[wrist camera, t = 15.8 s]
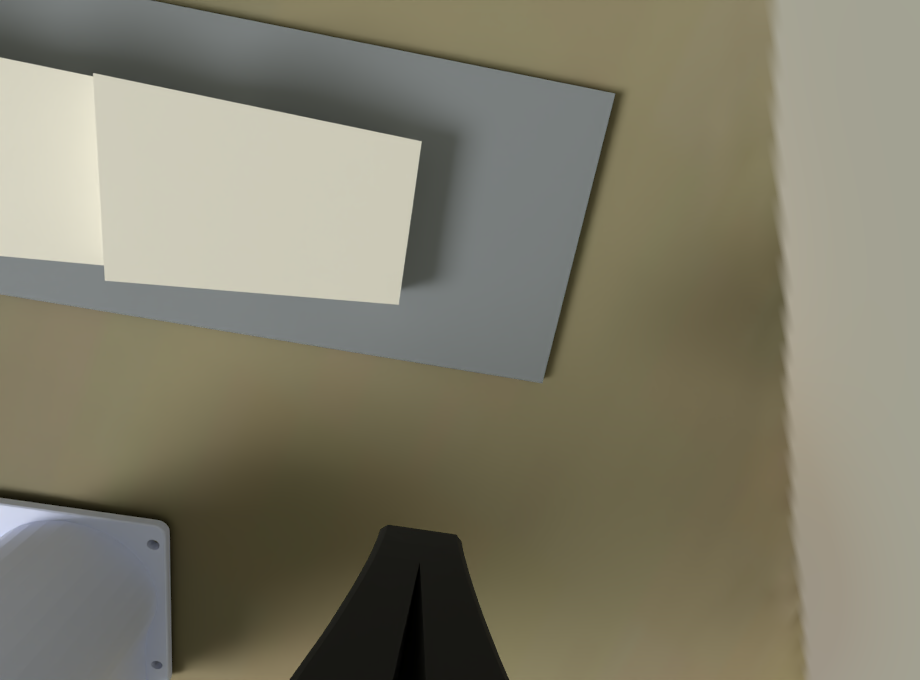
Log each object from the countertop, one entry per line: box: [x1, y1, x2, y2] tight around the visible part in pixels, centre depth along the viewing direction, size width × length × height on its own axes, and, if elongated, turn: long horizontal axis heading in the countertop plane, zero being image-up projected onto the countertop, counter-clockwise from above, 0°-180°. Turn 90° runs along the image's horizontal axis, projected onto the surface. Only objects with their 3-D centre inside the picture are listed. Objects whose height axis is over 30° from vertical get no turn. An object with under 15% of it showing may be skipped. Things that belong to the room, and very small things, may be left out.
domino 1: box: [0, 57, 104, 265], centre depth 14 cm, size 5×2×8 cm
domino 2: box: [93, 73, 422, 305], centre depth 14 cm, size 5×2×8 cm
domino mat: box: [0, 0, 615, 383], centre depth 16 cm, size 10×29×1 cm, turn 80°
